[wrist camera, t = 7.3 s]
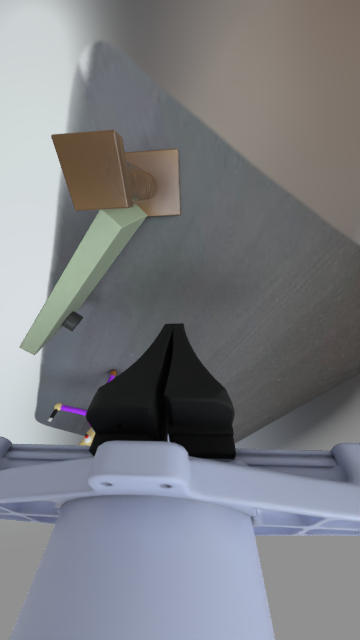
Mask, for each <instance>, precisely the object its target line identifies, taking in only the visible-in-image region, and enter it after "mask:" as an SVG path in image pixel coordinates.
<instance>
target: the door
mask: <svg viewBox="0 0 360 640" xmlns="http://www.w3.org/2000/svg"><path fill="white" fill-rule="evenodd" d="M146 217H147V214H146V213H145V212H144V211H143V210H142V209H141V208H140V207H139V206H138V205H137V204H133V207H130V208H120V209H102V210H99V212H98V214H97V216H96V217H95V219H94V221H93V222H92V224H91V226H90V227H89V229H88V231H87V233H86V234H85V236H84V238H83V239H82V241H81V243H80V245H79V246H78V248H77V250H76V251H75V253H74V255H73V256H72V258H71V260H70V262H69V263H68V265H67V267H66V268H65V270H64V272H63V273H62V275H61V277H60V279H59V280H58V282H57V284H56V285H55V287H54V289H53V291H52V292H51V294H50V296H49V297H48V299H47V301H46V302H45V304H44V306H43V308H42V309H41V311H40V313H39V314H38V316H37V318H36V320H35V321H34V323H33V325H32V326H31V328H30V330H29V332H28V333H27V335H26V337H25V338H24V340H23V342H22V344H21V345H20V348H22V349H24V350H26V351H28V352H30V353H32V354H34V355H35V354H36V353H37V352H38V351H39V350H40V349H41V348H42V347H43V346H44V345H45V344H46V343H47V342H48V341H49V340H50V339H51V338H52V337H53V336H54V335H55V334H56V332H57V331H58V330H59V329H60V328H61V327H62V326H64V327H65V328H67V329H69V330H70V331H73V330H74V329H75V327H76V326H77V325H78V324H79V323H80V321H81V320H82V319H83V317H82V316H81V315H79V314H78V313H76V312H77V311H78V310H79V308H80V307H81V306H82V304H83V303H84V301H85V300H86V299H87V297H88V296H89V295H90V293H91V292H92V291H93V289H94V288H95V286H96V285H97V284H98V282H99V281H100V280H101V278H102V277H103V276H104V274H105V273H106V271H107V270H108V269H109V267H110V266H111V265H112V263H113V262H114V261H115V259H116V258H117V256H118V255H119V254H120V252H121V251H122V250H123V248H124V247H125V246H126V244H127V243H128V241H129V240H130V239H131V237H132V236H133V235H134V233H135V232H136V231H137V229H138V228H139V227H140V225H141V224H142V222H143V221H144V220H145V218H146Z"/></svg>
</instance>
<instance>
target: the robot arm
mask: <svg viewBox="0 0 360 640" xmlns="http://www.w3.org/2000/svg"><path fill="white" fill-rule="evenodd" d="M86 418H87V421H88V423H89V424H90V426H91V427H92V429H93V430H94V431H95V436H94V438H93V441H92V443H91V446H86V445H38V444H35V445H34V444H12V443H11V442H10V441H9V440H8V439H6V438H4V437H0V519H5V520H16V521H27V522H36V523H45V524H55V527H54V529H53V532H52V534H51V537H50V539H49V541H48V544H47V546H46V549H45V552H44V554H43V556H42V559H41V561H40V564H39V566H38V569H37V571H36V574H35V576H34V579H33V581H32V584H31V586H30V588H29V591H28V593H27V596H26V598H25V601H24V603H23V606H22V608H21V611H20V613H19V616H18V619H17V621H16V623H15V626H14V628H13V631H12V633H11V636H10V638H9V640H275V636H274V631H273V626H272V621H271V616H270V611H269V606H268V601H267V595H266V591H265V586H264V580H263V575H262V570H261V565H260V560H259V555H258V550H257V545H256V539H255V536H257V535H258V536H260V535H261V536H263V535H264V536H267V535H345V536H360V443H340V444H337V445H335V446H334V447H333V448H332V450H331V451H321V450H320V451H318V450H274V449H273V450H272V449H235V444H234V439H233V435H234V433H233V427H232V423H233V419H234V408H233V405H232V402H231V399H230V397H229V395H228V393H227V391H226V389H225V388H224V387H223V386H222V385H221V384H220V383H219V382H218V381H217V380H216V379H215V378H214V377H213V376H212V375H211V374H210V373H209V372H208V370H207V369H206V368H205V367H204V366H203V364H202V363H201V362H200V360H199V359H198V357H197V356H196V354H195V352H194V351H193V349H192V347H191V345H190V343H189V341H188V338H187V336H186V333H185V329H184V324H165V325H164V327H163V329H162V330H161V332H160V333H159V335H158V336H157V338H156V339H155V341H154V342H153V343H152V345H151V346H150V347H149V348H148V349H147V351H146V352H145V353H144V354H143V355H142V356H141V357H140V358H139V359H138V360H137V361H136V362H135V363H134V364H133V365H132V366H130V367H129V368H128V369H127V370H125V371H124V372H123V373H121V374H120V375H119V376H117V377H116V378H114V379H113V380H111V381H110V382H108V383H106V384H105V385H103V386H101V387H100V388H99V389H98V391H97V392H96V394H95V396H94V398H93V400H92V402H91V404H90V406H89V408H88V410H87V412H86Z"/></svg>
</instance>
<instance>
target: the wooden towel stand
mask: <svg viewBox="0 0 360 640" xmlns="http://www.w3.org/2000/svg"><path fill="white" fill-rule="evenodd" d="M52 140H53V143H54V146H55V149H56V152H57V155H58V158H59V161H60V165H61V168H62V171H63V174H64V177H65V180H66V183H67V186H68V189H69V192H70V196H71V199H72V202H73V205H74V208H75V210H76V211H83V210H102V209H120V208H130V207H133V204H137V205H138V206H139V207H140V208H141V209H142V210H143V211H144V212H145V213H146V214H147V217H149V216H169V215H180V214H181V207H180V181H179V155H178V149H167V150H153V151H140V152H126V153H125V152H124V146H123V139H122V137H121V136H120V135H119V134H118V133H117V132H116V131H115V130H103V131H90V132H78V133H66V134H54V135H52Z"/></svg>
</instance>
